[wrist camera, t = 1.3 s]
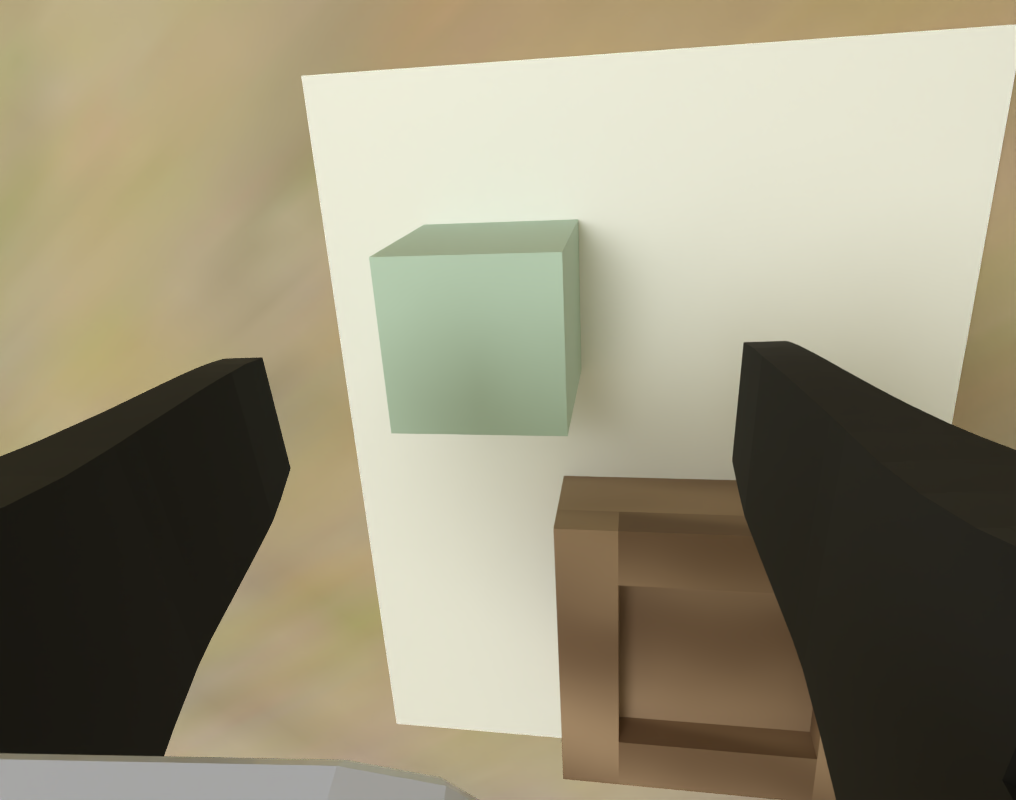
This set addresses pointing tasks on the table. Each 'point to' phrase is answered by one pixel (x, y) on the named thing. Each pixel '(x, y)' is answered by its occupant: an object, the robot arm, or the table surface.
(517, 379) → the sage block
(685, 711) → the walnut socket base
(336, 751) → the table surface
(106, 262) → the table surface
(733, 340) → the cream board
